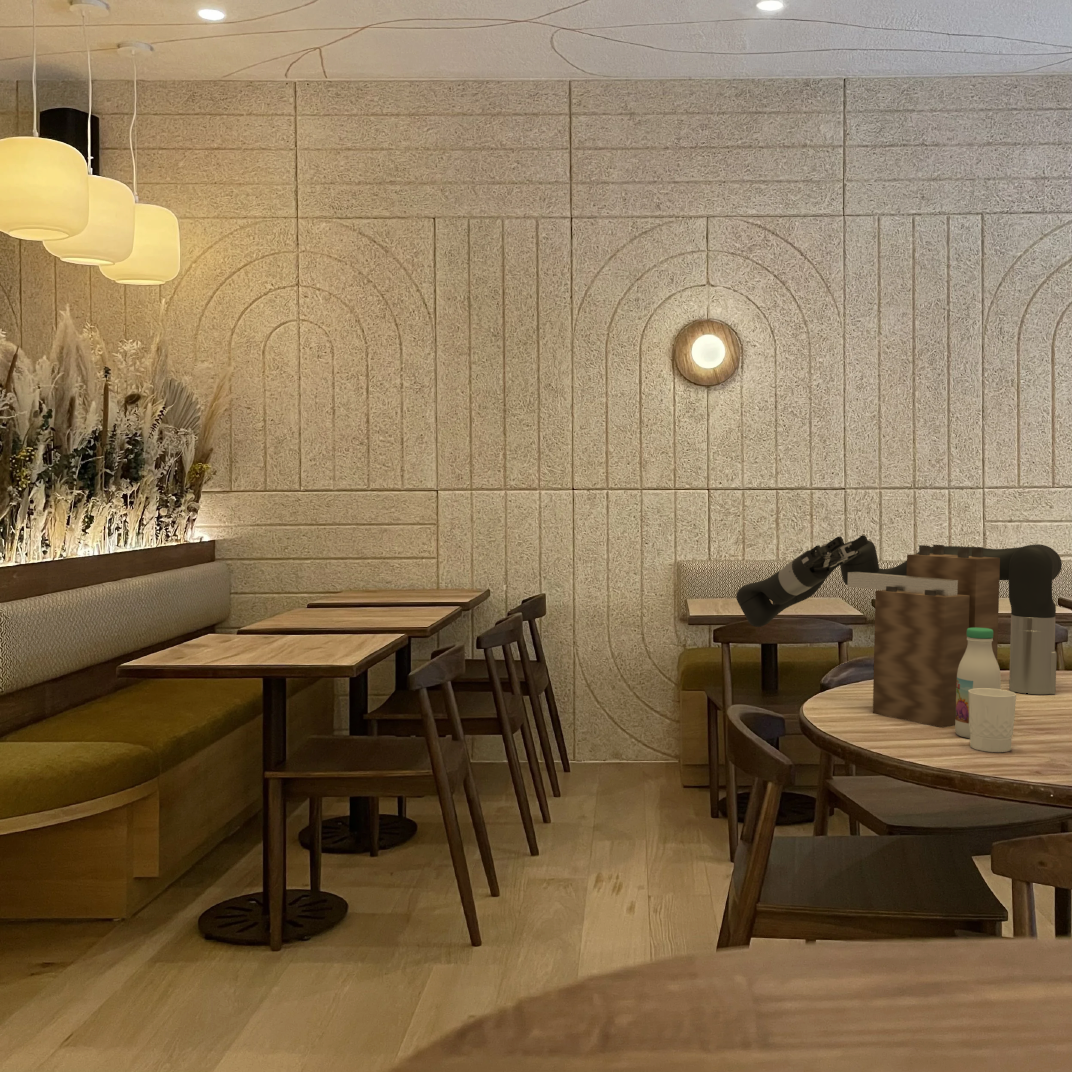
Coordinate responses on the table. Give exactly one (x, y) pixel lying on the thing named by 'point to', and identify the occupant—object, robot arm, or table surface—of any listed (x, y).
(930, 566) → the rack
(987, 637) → the milk bottle
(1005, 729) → the white cup
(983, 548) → the robot arm
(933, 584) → the block
